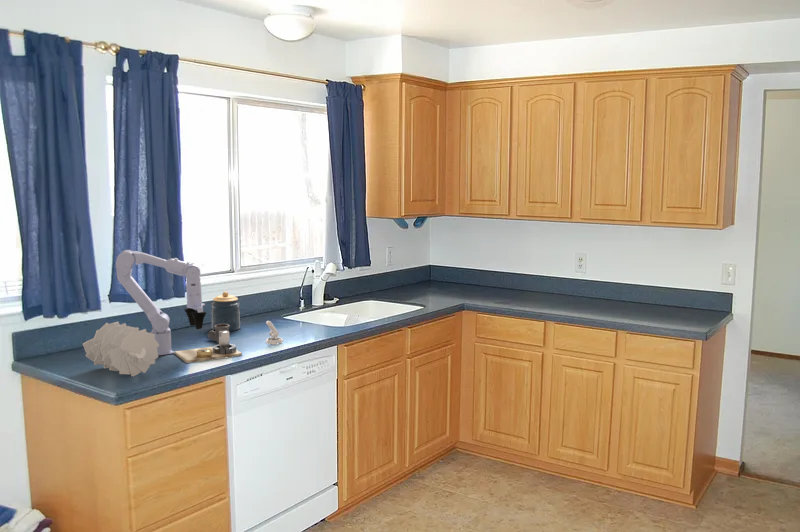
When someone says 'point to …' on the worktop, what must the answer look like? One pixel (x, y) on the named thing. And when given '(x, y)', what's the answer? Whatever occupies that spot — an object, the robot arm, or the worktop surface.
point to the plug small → (204, 353)
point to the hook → (273, 334)
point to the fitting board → (192, 357)
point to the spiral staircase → (122, 348)
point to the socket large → (224, 349)
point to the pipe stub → (224, 339)
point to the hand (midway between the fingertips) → (196, 327)
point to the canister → (226, 311)
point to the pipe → (219, 327)
